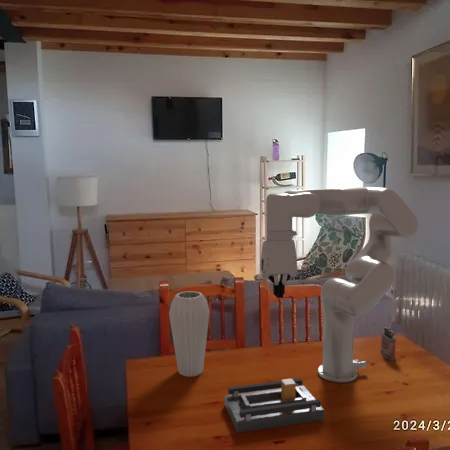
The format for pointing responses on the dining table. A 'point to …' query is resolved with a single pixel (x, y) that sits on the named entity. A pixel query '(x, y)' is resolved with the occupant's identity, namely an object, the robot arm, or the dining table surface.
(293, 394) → the block
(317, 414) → the panel
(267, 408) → the pair of grey rails
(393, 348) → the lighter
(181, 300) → the vase
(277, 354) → the dining table surface
